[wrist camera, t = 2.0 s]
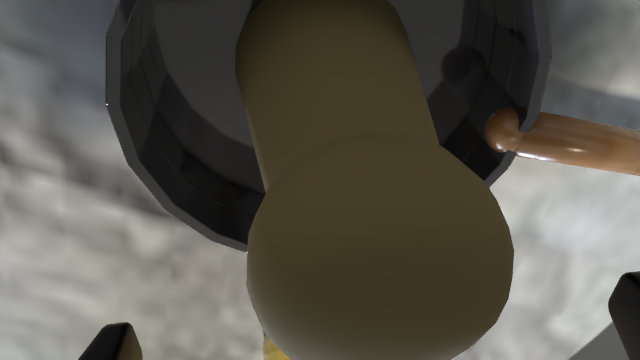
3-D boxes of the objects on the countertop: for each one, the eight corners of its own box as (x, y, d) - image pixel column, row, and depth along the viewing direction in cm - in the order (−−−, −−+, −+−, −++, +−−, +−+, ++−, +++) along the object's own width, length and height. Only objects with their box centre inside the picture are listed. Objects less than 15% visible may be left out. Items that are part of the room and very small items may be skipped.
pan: (124, 181, 20) (104, 244, 17) (137, -224, 13) (106, -229, 10) (423, 217, 23) (447, 276, 20) (573, -92, 16) (643, -67, 13)
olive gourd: (196, 56, 17) (139, 340, 8) (341, -70, 15) (469, 121, 6) (309, 165, 20) (356, 452, 11) (440, 72, 18) (616, 329, 9)
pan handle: (470, 134, 18) (487, 160, 17) (489, 94, 17) (509, 118, 16) (665, 167, 20) (693, 193, 19) (692, 133, 19) (724, 157, 18)
